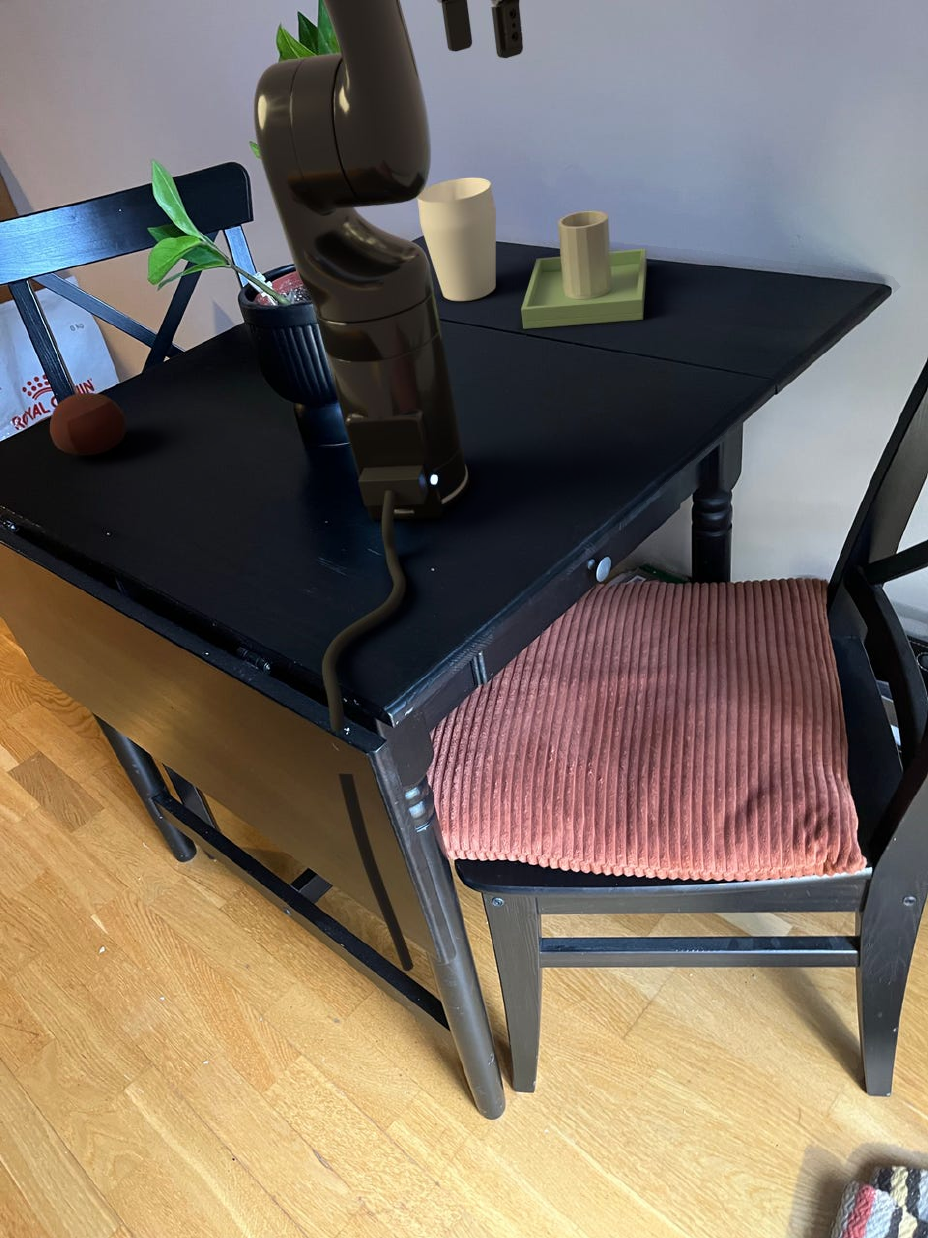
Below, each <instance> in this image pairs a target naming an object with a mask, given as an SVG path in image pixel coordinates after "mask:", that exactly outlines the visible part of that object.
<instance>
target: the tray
mask: <svg viewBox="0 0 928 1238" xmlns="http://www.w3.org/2000/svg"><path fill="white" fill-rule="evenodd" d="M610 255H611V275H612V289H611V290H610V292H608V293H607V294H605V295H603V296H600V297H597V298H593V299H584V300H579V299H572V298H569V297H567V296H566V295H565V294H564V288H563V277H562V265H561V256H552V257H541V258H536V260H535V263H534V267H533V269H532V273H531V276H530V278H529V279H530V280H529V283H528V286H527V290H526V292H525V296H524V299H523V301H522V302H523V303H522V305H521V309H520V311H521V319H522V320H521V321H522V328H523V330H525V329H539V328H540V329H541V328H549V327H550V328H551V327H565V326H578V325H590V324H605V323H616V322H628V321H629V322H631V321H640V320H641V321H643V320H644V308H645V295H646V283H647V282H646V281H647V267H648V266H647V265H648V264H647V248H635V249H626V250H625V249H624V250H616V251H615V250H614V251H610Z"/></svg>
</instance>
